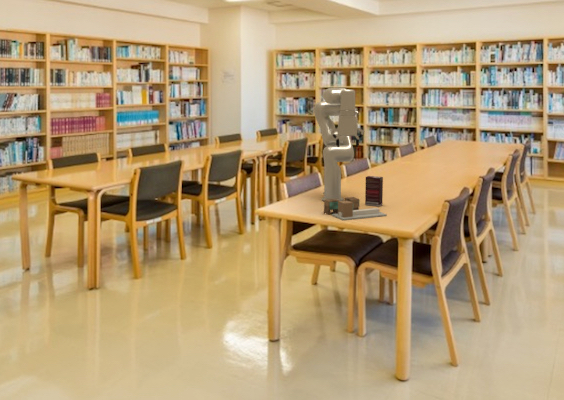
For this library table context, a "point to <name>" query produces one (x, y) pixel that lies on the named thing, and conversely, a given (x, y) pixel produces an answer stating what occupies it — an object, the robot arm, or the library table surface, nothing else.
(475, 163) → the library table surface
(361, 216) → the rail board
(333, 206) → the block
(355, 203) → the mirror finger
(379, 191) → the supplement box
